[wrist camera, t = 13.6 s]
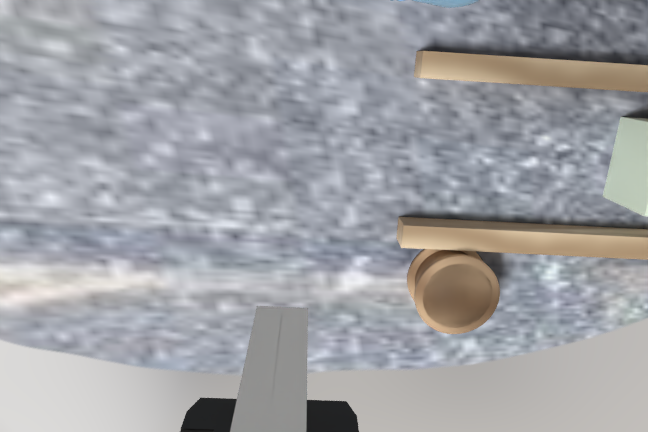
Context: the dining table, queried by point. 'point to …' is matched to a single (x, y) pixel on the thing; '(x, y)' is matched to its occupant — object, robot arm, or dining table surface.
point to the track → (526, 234)
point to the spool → (452, 289)
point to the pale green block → (629, 166)
